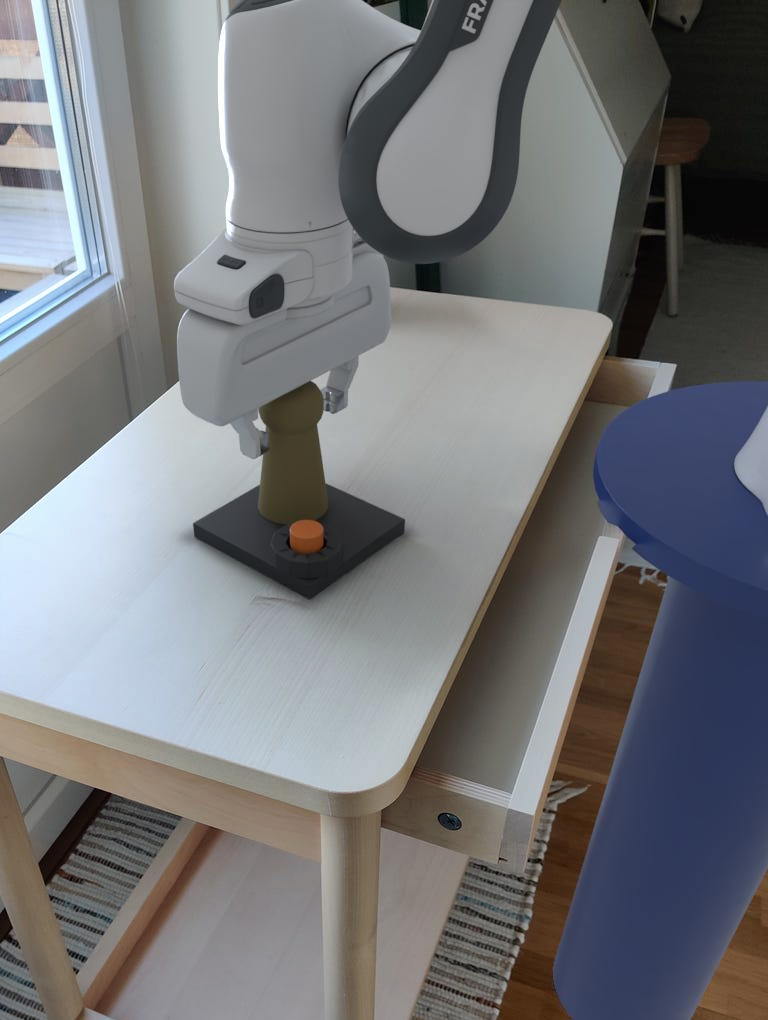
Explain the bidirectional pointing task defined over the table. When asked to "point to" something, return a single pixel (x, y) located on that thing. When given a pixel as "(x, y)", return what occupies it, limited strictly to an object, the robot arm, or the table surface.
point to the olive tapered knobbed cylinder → (293, 458)
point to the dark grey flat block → (266, 544)
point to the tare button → (306, 536)
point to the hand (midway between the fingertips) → (295, 430)
